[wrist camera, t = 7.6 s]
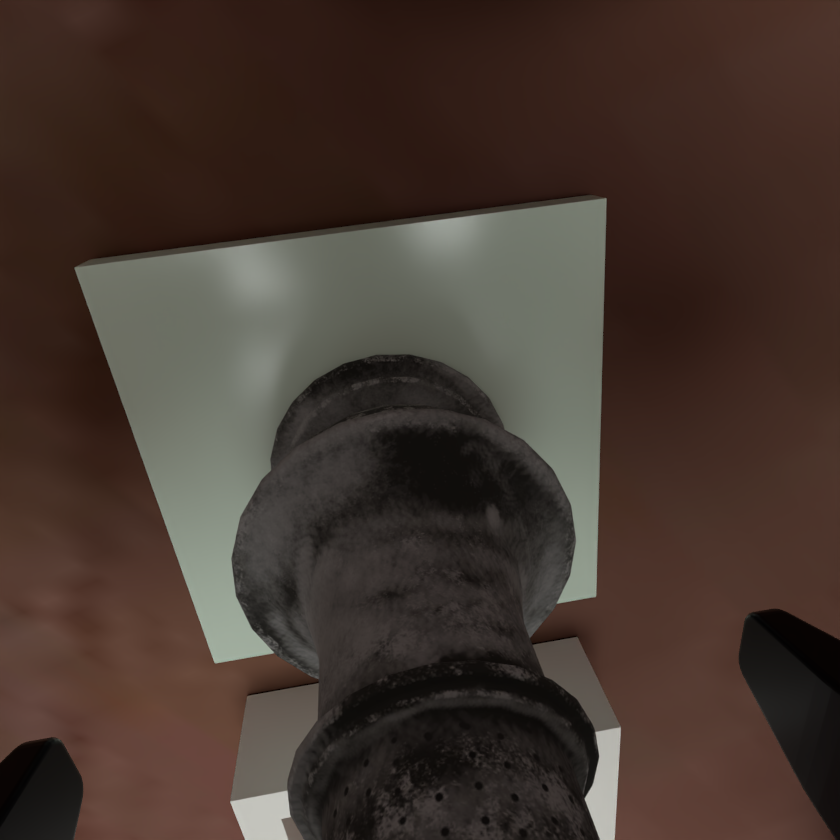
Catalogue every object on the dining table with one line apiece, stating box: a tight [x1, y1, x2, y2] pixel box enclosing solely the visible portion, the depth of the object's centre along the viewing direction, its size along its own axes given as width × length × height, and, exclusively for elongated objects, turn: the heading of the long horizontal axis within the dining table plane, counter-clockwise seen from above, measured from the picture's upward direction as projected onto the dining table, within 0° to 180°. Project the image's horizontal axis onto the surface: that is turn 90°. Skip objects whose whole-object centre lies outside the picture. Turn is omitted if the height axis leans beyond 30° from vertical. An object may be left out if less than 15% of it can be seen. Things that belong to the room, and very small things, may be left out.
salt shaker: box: [231, 354, 600, 840], centre depth 8 cm, size 6×6×12 cm
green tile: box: [74, 195, 607, 663], centre depth 14 cm, size 10×10×1 cm
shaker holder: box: [230, 637, 621, 840], centre depth 18 cm, size 10×10×3 cm
